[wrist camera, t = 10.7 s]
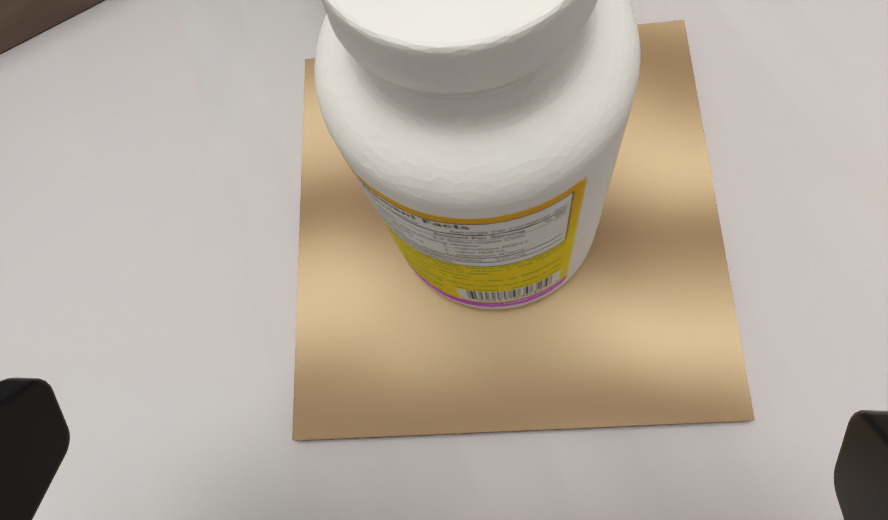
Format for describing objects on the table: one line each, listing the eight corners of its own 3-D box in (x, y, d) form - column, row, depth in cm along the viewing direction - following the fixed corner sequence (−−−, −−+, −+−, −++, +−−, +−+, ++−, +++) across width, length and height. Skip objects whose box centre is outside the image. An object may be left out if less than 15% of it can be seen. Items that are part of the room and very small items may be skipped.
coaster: (750, 421, 20) (754, 420, 19) (296, 440, 21) (292, 440, 21) (681, 27, 24) (683, 19, 24) (308, 65, 25) (305, 59, 25)
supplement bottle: (478, 98, 24) (428, -297, 11) (636, 198, 22) (776, -145, 10) (358, 239, 22) (160, -32, 10) (512, 357, 21) (494, 198, 8)
